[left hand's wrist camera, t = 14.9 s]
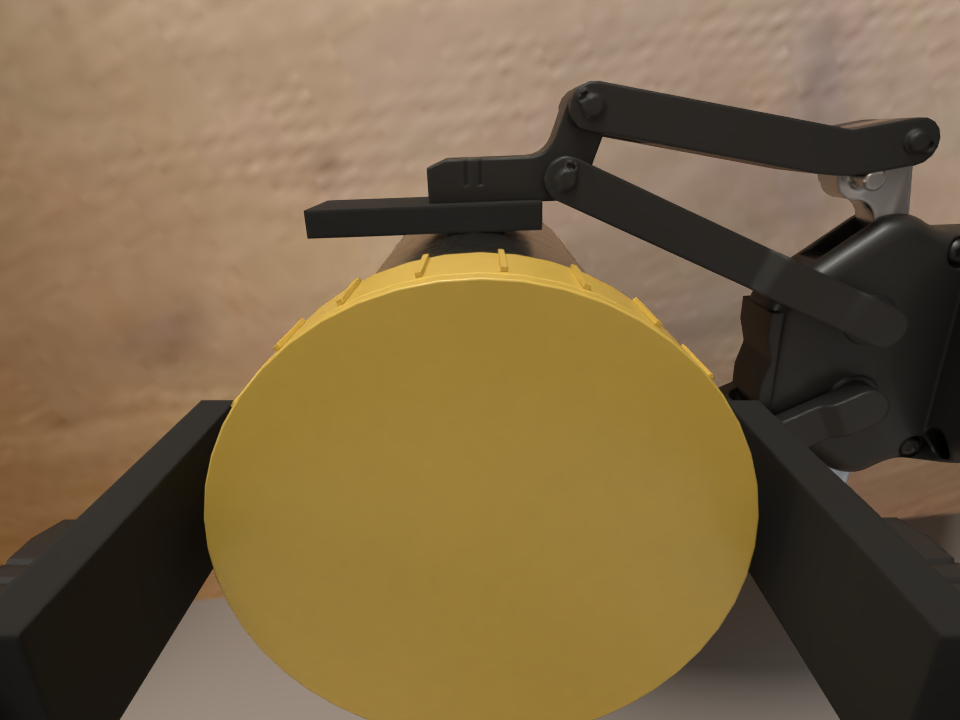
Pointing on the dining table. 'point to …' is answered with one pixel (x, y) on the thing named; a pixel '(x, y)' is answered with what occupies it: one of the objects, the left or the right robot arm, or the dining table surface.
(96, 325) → the dining table surface
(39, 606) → the left robot arm
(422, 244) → the jar
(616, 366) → the lid
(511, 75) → the dining table surface
